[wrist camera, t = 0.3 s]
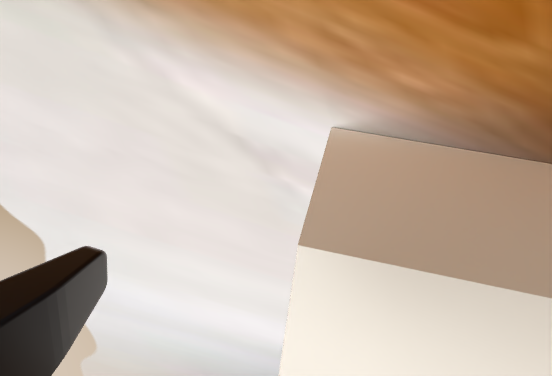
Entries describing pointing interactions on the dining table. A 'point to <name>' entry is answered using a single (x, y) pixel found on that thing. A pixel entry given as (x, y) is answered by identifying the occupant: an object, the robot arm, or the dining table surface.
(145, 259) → the dining table surface
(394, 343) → the cubby
